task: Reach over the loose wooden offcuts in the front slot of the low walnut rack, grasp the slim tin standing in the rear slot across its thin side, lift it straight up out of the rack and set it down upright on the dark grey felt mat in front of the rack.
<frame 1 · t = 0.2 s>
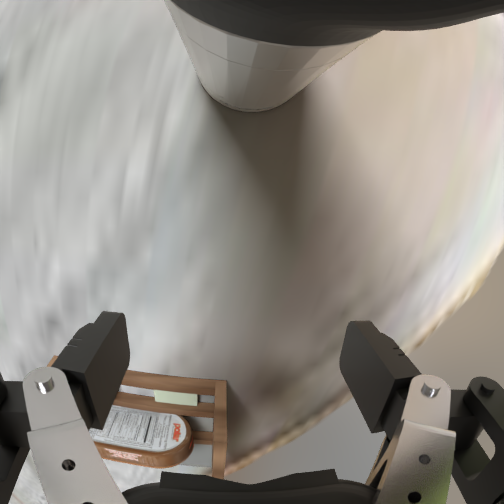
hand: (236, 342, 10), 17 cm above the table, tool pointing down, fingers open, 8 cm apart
rack: (138, 402, 33), on the table
tin: (137, 407, 34), resting in rack
offcut sage: (176, 389, 33), resting in rack
felt mat: (147, 446, 36), on the table
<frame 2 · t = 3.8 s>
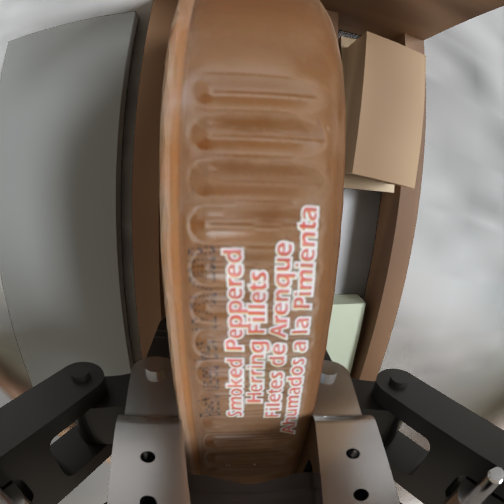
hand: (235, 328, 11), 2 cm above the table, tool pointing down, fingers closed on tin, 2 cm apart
rack: (276, 238, 13), on the table
offcut oak: (370, 113, 10), point 2 cm above the table, touching offcut maple
tin: (243, 228, 13), resting in rack, touching gripper
offcut sage: (324, 337, 15), resting in rack
felt mat: (53, 229, 12), on the table
offcut maple: (351, 118, 12), resting in rack, touching offcut oak
when the fingers open (4 cm above the table, at t = 8.8 s): tin drops 1 cm, resting on felt mat.
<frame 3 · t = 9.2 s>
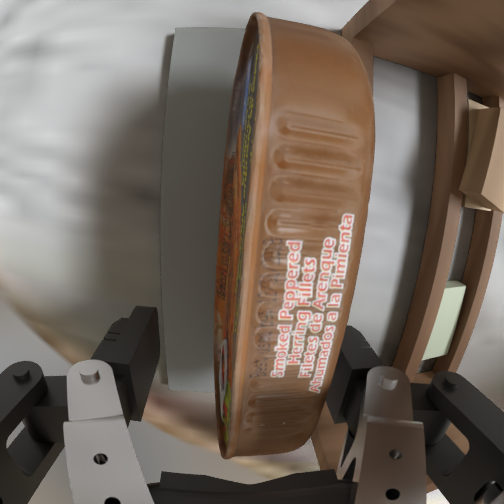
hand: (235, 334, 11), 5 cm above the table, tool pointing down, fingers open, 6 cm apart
rack: (418, 239, 15), on the table
offcut oak: (483, 157, 13), point 2 cm above the table
tin: (253, 228, 14), resting on felt mat
offcut sage: (432, 314, 17), resting in rack
felt mat: (236, 227, 14), on the table
offcut maple: (460, 154, 15), resting in rack
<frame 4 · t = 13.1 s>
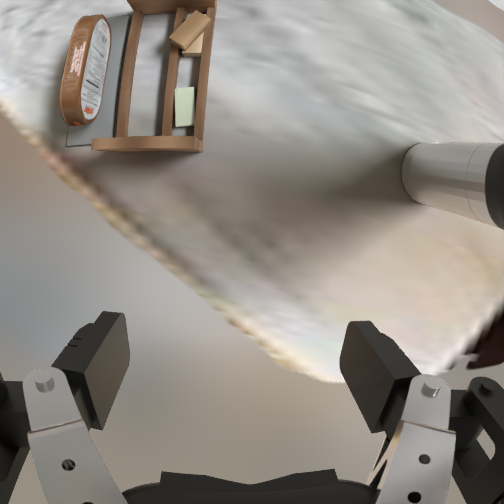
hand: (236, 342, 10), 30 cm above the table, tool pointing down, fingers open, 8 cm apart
rack: (166, 72, 33), on the table
offcut oak: (191, 33, 31), point 2 cm above the table, touching offcut maple, rack
tin: (100, 75, 32), resting on felt mat
offcut sage: (186, 108, 36), resting in rack
felt mat: (96, 77, 33), on the table
offcut maple: (195, 38, 33), resting in rack, touching offcut oak
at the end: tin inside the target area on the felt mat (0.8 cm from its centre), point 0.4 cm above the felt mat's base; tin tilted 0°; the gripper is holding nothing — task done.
